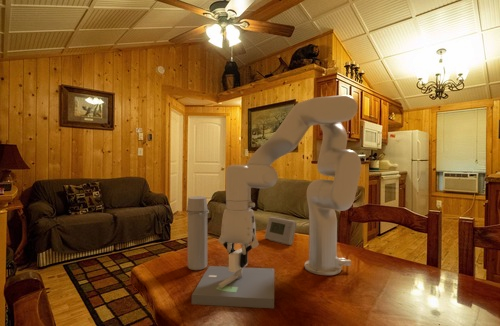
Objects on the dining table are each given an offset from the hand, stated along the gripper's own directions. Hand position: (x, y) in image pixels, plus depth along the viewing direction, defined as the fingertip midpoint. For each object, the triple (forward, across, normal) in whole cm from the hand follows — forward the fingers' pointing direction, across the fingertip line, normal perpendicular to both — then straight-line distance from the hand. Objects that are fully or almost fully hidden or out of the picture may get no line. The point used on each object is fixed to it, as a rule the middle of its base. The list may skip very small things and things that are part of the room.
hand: (237, 264), depth 85 cm
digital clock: (+7, -1, -49) cm, 50 cm away
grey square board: (+6, -1, +2) cm, 7 cm away
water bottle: (+7, +18, -8) cm, 21 cm away
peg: (+4, 0, +2) cm, 5 cm away
